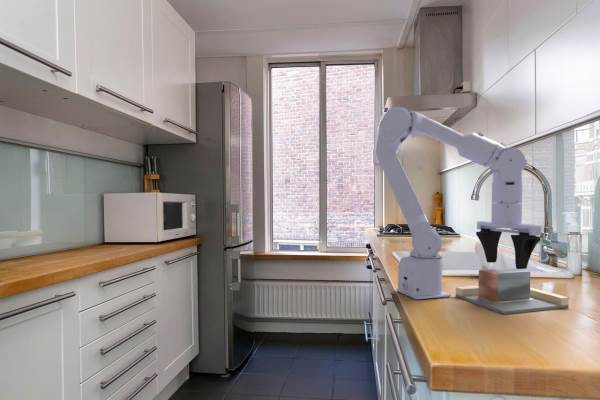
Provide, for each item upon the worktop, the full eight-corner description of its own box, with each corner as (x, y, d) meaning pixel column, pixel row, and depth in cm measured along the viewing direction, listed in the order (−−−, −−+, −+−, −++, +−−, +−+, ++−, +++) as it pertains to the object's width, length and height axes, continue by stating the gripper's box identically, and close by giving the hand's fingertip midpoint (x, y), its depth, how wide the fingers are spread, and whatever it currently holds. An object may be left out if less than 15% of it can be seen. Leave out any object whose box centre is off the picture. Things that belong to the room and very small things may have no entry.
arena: (504, 314, 66) (504, 303, 66) (455, 296, 79) (455, 287, 79) (568, 307, 71) (568, 297, 71) (513, 291, 84) (513, 282, 84)
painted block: (529, 299, 75) (530, 271, 75) (493, 302, 72) (493, 273, 72) (513, 294, 79) (514, 267, 79) (478, 297, 76) (478, 269, 76)
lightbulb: (477, 272, 105) (477, 237, 105) (500, 276, 101) (501, 238, 101) (472, 276, 100) (472, 238, 100) (496, 279, 96) (497, 240, 96)
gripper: (552, 204, 70) (551, 271, 70) (493, 203, 84) (492, 259, 84) (526, 203, 68) (525, 272, 68) (470, 202, 82) (469, 260, 82)
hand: (505, 265), depth 75 cm, fingers open, 7 cm apart
